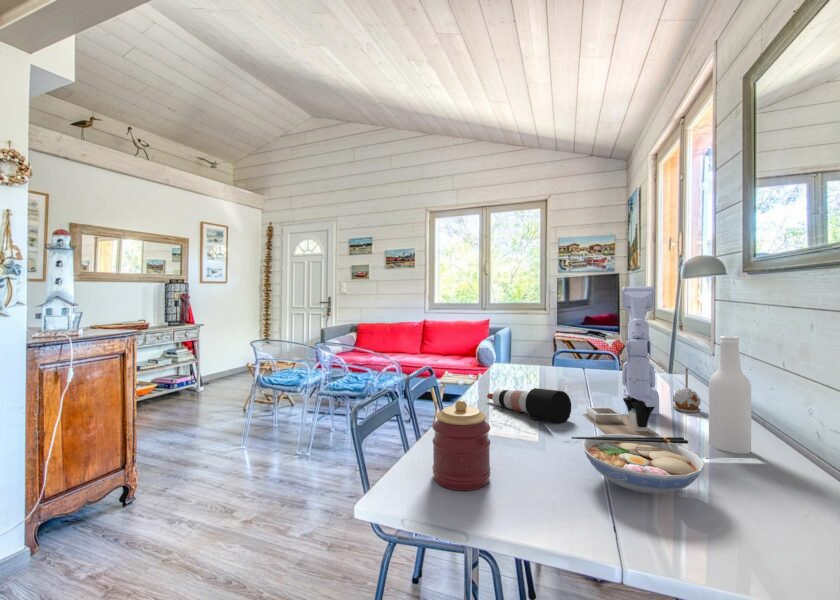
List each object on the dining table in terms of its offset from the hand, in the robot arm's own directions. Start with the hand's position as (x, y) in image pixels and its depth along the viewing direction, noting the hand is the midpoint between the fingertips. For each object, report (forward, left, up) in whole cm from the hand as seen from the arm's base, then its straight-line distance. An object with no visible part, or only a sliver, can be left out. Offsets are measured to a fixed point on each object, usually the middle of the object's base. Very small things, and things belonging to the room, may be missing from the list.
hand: (638, 424), depth 118 cm
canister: (+54, +32, -3) cm, 63 cm away
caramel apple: (-28, -24, -3) cm, 37 cm away
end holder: (+6, -10, -1) cm, 12 cm away
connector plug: (0, 0, -1) cm, 1 cm away
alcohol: (-17, +13, -3) cm, 22 cm away
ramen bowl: (+16, +34, -3) cm, 38 cm away
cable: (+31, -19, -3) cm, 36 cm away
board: (+4, -5, -2) cm, 7 cm away
